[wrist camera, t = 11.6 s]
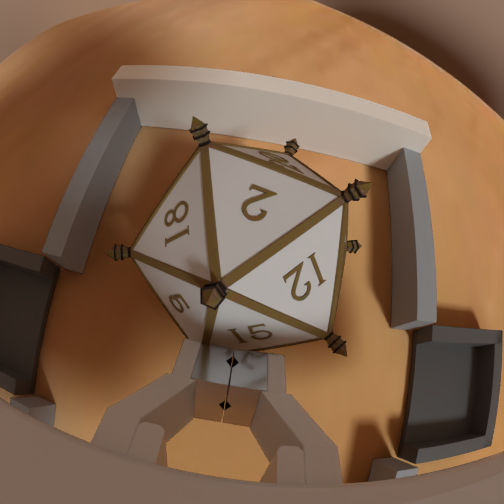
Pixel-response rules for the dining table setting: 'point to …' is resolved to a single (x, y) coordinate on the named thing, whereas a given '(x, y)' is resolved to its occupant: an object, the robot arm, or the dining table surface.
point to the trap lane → (279, 131)
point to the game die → (248, 247)
